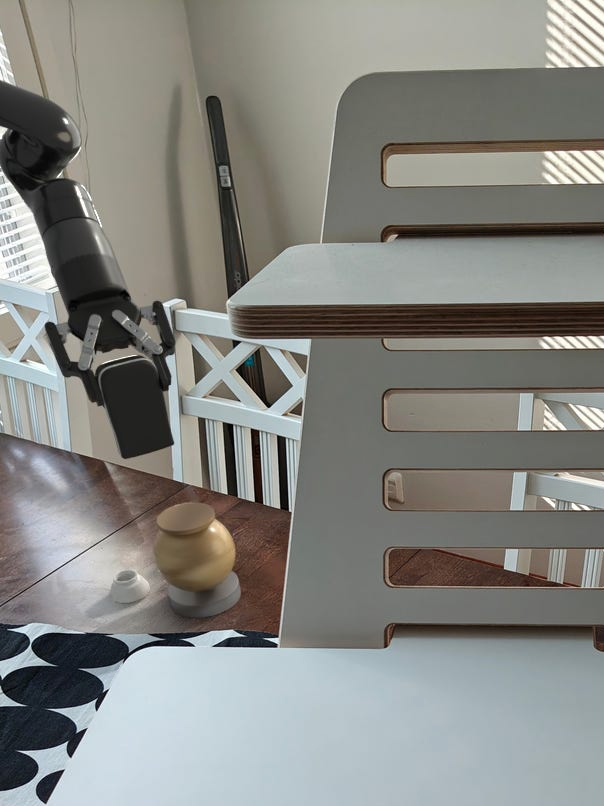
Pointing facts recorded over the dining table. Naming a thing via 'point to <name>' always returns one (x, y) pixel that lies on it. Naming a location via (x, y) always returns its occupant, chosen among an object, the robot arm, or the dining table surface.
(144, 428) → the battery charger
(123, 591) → the lidless jar
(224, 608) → the lidded jar
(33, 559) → the dining table surface
